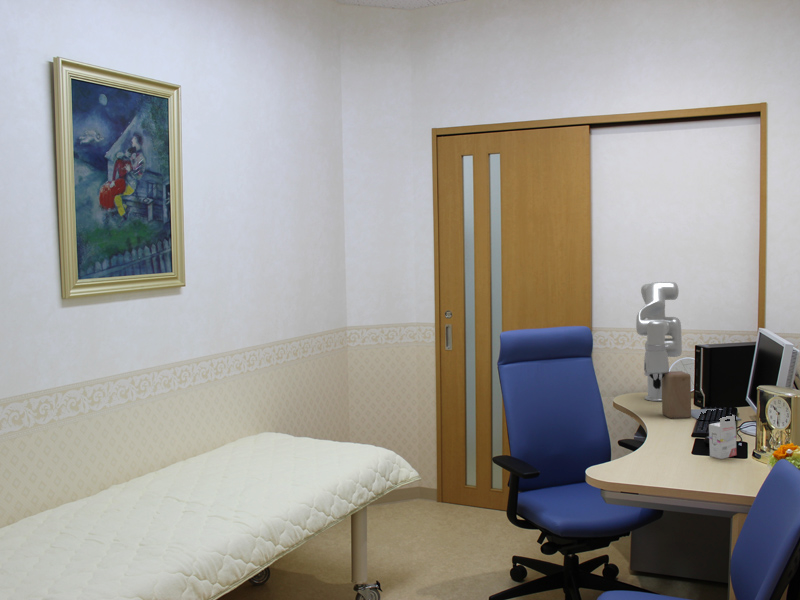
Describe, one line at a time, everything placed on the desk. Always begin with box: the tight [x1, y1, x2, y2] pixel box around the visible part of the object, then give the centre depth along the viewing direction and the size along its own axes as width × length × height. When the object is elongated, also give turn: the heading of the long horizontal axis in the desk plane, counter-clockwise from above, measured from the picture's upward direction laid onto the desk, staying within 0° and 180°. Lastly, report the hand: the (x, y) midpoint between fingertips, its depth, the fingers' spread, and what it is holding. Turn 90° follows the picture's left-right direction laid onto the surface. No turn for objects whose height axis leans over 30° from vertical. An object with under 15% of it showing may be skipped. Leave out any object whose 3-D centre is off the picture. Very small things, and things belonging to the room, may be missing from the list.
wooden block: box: [661, 370, 692, 419], centre depth 304 cm, size 10×10×20 cm
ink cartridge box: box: [708, 414, 737, 460], centre depth 239 cm, size 9×5×15 cm, turn 117°
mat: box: [690, 408, 742, 421], centre depth 304 cm, size 22×18×1 cm
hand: (657, 388), depth 305 cm, fingers closed
